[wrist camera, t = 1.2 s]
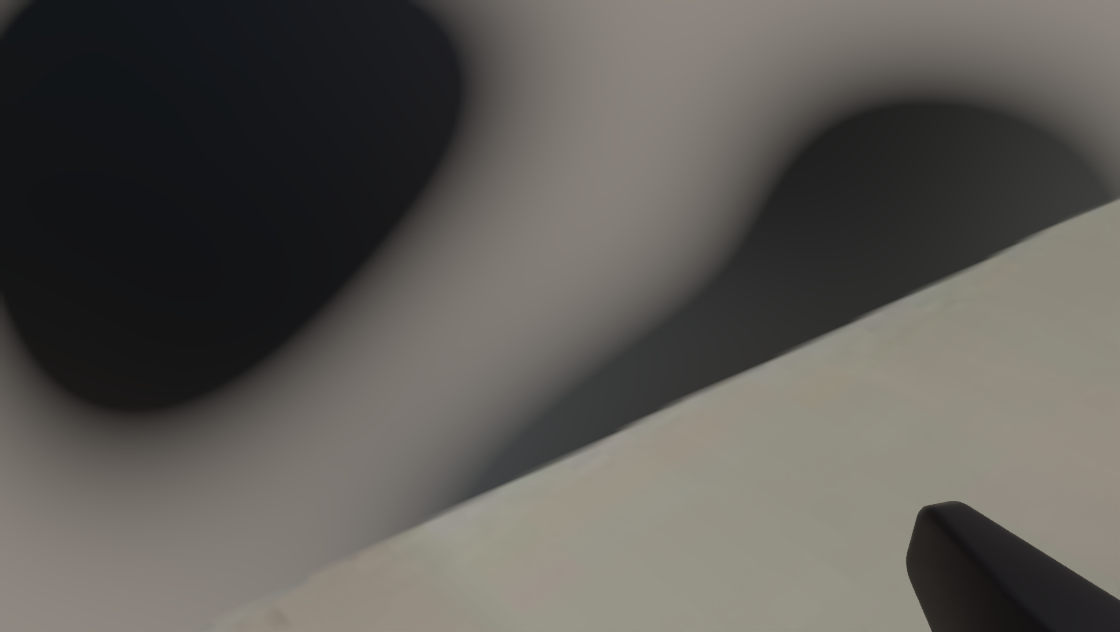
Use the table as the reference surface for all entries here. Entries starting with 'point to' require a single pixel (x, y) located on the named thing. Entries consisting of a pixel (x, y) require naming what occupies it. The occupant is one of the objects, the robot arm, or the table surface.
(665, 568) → the table surface
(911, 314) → the table surface
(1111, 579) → the table surface
